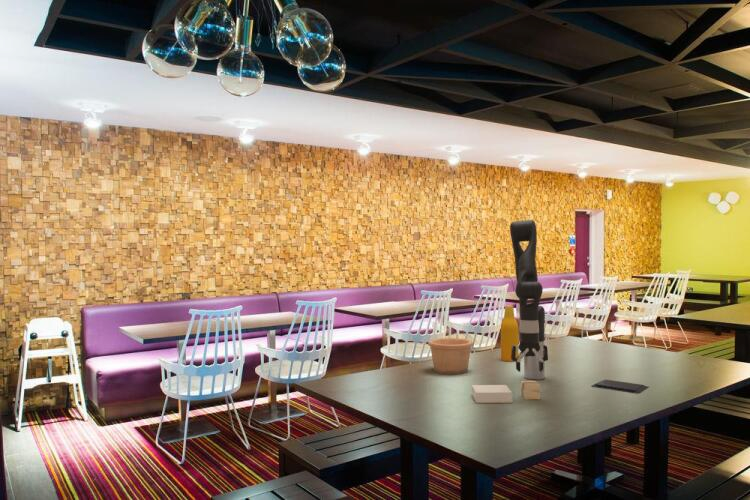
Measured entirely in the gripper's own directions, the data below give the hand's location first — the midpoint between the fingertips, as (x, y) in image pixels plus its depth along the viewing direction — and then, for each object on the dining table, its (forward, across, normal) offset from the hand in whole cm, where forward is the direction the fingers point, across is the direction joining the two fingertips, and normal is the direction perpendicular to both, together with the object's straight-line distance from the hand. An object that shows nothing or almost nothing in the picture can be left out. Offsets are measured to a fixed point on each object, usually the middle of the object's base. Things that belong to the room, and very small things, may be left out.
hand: (529, 371), depth 229 cm
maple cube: (+11, 0, 0) cm, 11 cm away
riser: (+11, +16, +2) cm, 19 cm away
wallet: (+11, -42, -16) cm, 47 cm away
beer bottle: (+10, -7, -75) cm, 76 cm away
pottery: (+10, +27, -50) cm, 58 cm away
